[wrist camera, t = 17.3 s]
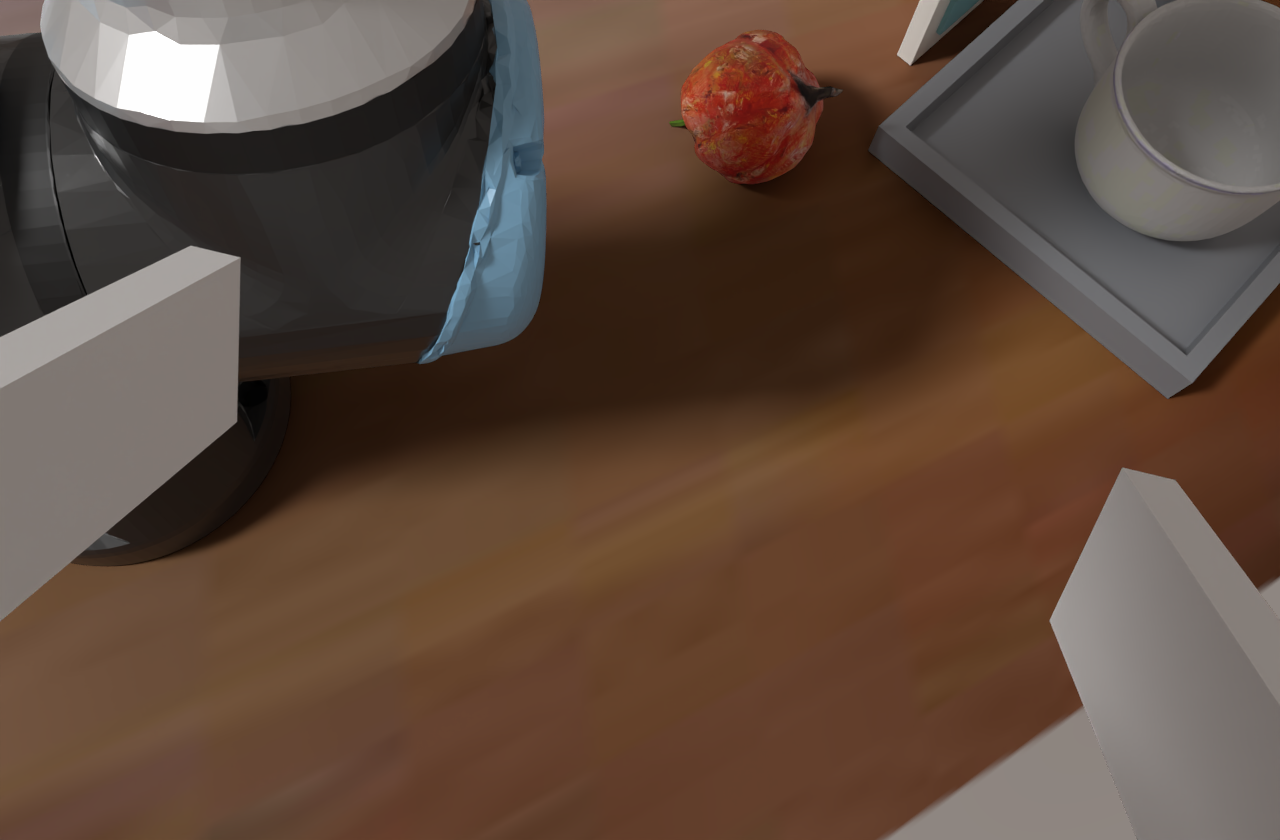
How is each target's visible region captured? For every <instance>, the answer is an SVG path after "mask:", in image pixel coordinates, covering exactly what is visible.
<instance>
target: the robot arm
mask: <svg viewBox="0 0 1280 840" xmlns="http://www.w3.org/2000/svg"><path fill="white" fill-rule="evenodd" d="M40 27H41V33H27V34H18V35H8V36H0V621H1V620H2V619H3V618H5V617H6V616H7V615H8V614H9V613H11V612H12V611H13V610H14V609H15V608H17V607H18V606H19V605H20V604H21V603H22V602H24V601H25V600H26V599H27V598H28V597H30V596H31V595H32V594H33V593H34V592H36V591H37V590H38V589H39V588H40V587H41V586H43V585H44V584H45V583H46V582H47V581H49V580H50V579H51V578H52V577H53V576H55V575H56V574H57V573H58V572H59V571H60V570H62V569H63V568H64V567H65V566H66V565H68V564H69V563H74V564H80V565H89V566H118V565H127V564H134V563H139V562H144V561H148V560H152V559H155V558H159V557H162V556H165V555H168V554H170V553H173V552H175V551H178V550H180V549H182V548H185V547H186V546H188V545H190V544H192V543H194V542H196V541H198V540H200V539H201V538H203V537H205V536H206V535H208V534H209V533H211V532H212V531H214V530H215V529H217V528H218V527H219V526H221V525H222V524H223V523H224V522H226V521H227V520H228V519H229V518H230V517H231V516H233V515H234V514H235V513H236V512H237V511H238V510H239V509H240V508H241V507H242V506H243V505H244V504H245V503H246V502H247V501H248V499H249V498H250V497H251V496H252V495H253V494H254V492H255V491H256V490H257V488H258V487H259V486H260V484H261V483H262V482H263V480H264V478H265V477H266V475H267V474H268V472H269V470H270V469H271V467H272V465H273V463H274V461H275V459H276V457H277V455H278V452H279V450H280V447H281V445H282V442H283V439H284V436H285V432H286V429H287V424H288V419H289V412H290V401H291V389H290V376H299V375H308V374H317V373H326V372H335V371H344V370H353V369H362V368H371V367H380V366H389V365H398V364H407V363H419V364H425V363H430V362H433V361H435V360H437V359H438V358H440V357H441V356H443V355H448V354H453V353H458V352H464V351H469V350H474V349H479V348H485V347H490V346H495V345H499V344H502V343H505V342H508V341H510V340H512V339H514V338H515V337H517V336H518V335H519V334H521V333H522V332H523V331H524V330H525V328H526V327H527V326H528V325H529V323H530V322H531V320H532V319H533V317H534V315H535V313H536V310H537V308H538V305H539V301H540V296H541V291H542V284H543V276H544V264H545V247H546V176H545V170H544V165H543V162H542V157H543V154H544V141H543V133H544V106H543V92H542V80H541V68H540V59H539V51H538V43H537V36H536V30H535V26H534V22H533V17H532V12H531V9H530V6H529V4H528V2H527V0H45V1H44V4H43V7H42V15H41V22H40ZM1050 623H1051V625H1052V628H1053V630H1054V633H1055V635H1056V638H1057V640H1058V643H1059V645H1060V648H1061V650H1062V653H1063V655H1064V658H1065V660H1066V663H1067V665H1068V668H1069V670H1070V673H1071V675H1072V678H1073V680H1074V683H1075V685H1076V688H1077V690H1078V693H1079V695H1080V698H1081V700H1082V703H1083V705H1084V708H1085V710H1086V713H1087V715H1088V718H1089V720H1090V723H1091V725H1092V728H1093V731H1094V733H1095V736H1096V738H1097V740H1098V743H1099V746H1100V748H1101V750H1102V753H1103V756H1104V758H1105V760H1106V763H1107V766H1108V768H1109V771H1110V773H1111V776H1112V778H1113V781H1114V783H1115V786H1116V788H1117V790H1118V793H1119V796H1120V798H1121V801H1122V803H1123V806H1124V808H1125V811H1126V813H1127V816H1128V818H1129V821H1130V823H1131V826H1132V828H1133V831H1134V833H1135V836H1136V838H1137V840H1280V619H1279V618H1278V617H1277V615H1276V614H1275V613H1274V611H1273V610H1272V609H1271V607H1270V606H1269V605H1268V603H1267V602H1266V601H1265V600H1264V598H1263V597H1262V595H1261V594H1260V593H1259V591H1258V590H1257V589H1256V587H1255V586H1254V585H1253V583H1252V582H1251V581H1250V579H1249V578H1248V577H1247V575H1246V574H1245V573H1244V571H1243V570H1242V569H1241V567H1240V566H1239V565H1238V563H1237V562H1236V561H1235V559H1234V558H1233V557H1232V555H1231V554H1230V553H1229V551H1228V550H1227V549H1226V547H1225V546H1224V544H1223V543H1222V542H1221V540H1220V539H1219V538H1218V536H1217V535H1216V534H1215V532H1214V531H1213V530H1212V528H1211V527H1210V526H1209V524H1208V523H1207V522H1206V520H1205V519H1204V518H1203V516H1202V515H1201V514H1200V512H1199V511H1198V510H1197V508H1196V507H1195V506H1194V504H1193V503H1192V502H1191V500H1190V499H1189V498H1188V496H1187V495H1186V494H1185V492H1184V491H1183V490H1182V488H1181V487H1180V486H1179V484H1178V483H1177V482H1176V480H1172V479H1168V478H1164V477H1160V476H1155V475H1151V474H1147V473H1143V472H1139V471H1134V470H1130V469H1126V468H1122V469H1121V471H1120V473H1119V476H1118V478H1117V480H1116V482H1115V484H1114V486H1113V488H1112V490H1111V492H1110V494H1109V497H1108V499H1107V501H1106V503H1105V505H1104V507H1103V509H1102V511H1101V513H1100V516H1099V518H1098V520H1097V522H1096V524H1095V526H1094V528H1093V530H1092V532H1091V534H1090V537H1089V539H1088V541H1087V543H1086V545H1085V547H1084V549H1083V551H1082V553H1081V555H1080V558H1079V560H1078V562H1077V564H1076V566H1075V568H1074V570H1073V572H1072V574H1071V577H1070V579H1069V581H1068V583H1067V585H1066V587H1065V589H1064V591H1063V593H1062V595H1061V598H1060V600H1059V602H1058V604H1057V606H1056V608H1055V610H1054V612H1053V614H1052V617H1051V619H1050Z"/></svg>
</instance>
